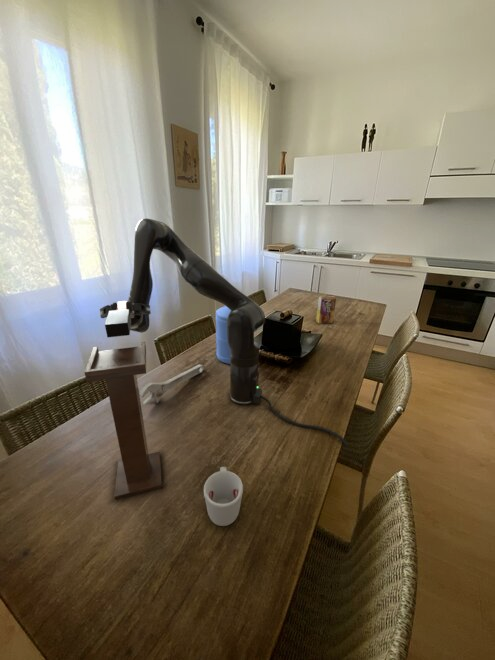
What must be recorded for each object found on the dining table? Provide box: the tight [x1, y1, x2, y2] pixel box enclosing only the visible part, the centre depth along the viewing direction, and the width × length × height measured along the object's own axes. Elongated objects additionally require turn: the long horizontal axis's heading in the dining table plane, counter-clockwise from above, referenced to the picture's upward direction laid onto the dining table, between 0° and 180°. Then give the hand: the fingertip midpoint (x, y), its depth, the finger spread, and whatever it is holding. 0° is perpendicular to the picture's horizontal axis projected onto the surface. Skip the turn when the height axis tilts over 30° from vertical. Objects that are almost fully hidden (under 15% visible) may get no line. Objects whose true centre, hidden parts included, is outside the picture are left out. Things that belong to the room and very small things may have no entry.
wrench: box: [139, 363, 205, 406], centre depth 99 cm, size 8×2×30 cm
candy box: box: [315, 295, 337, 324], centre depth 161 cm, size 9×4×15 cm, turn 99°
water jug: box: [215, 305, 231, 365], centre depth 117 cm, size 16×16×28 cm
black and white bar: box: [104, 300, 131, 338], centre depth 67 cm, size 18×4×3 cm, turn 18°
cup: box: [203, 466, 244, 527], centre depth 60 cm, size 11×8×8 cm
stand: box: [83, 341, 163, 500], centre depth 61 cm, size 10×10×33 cm
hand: (121, 306), depth 70 cm, fingers closed on black and white bar, 2 cm apart
